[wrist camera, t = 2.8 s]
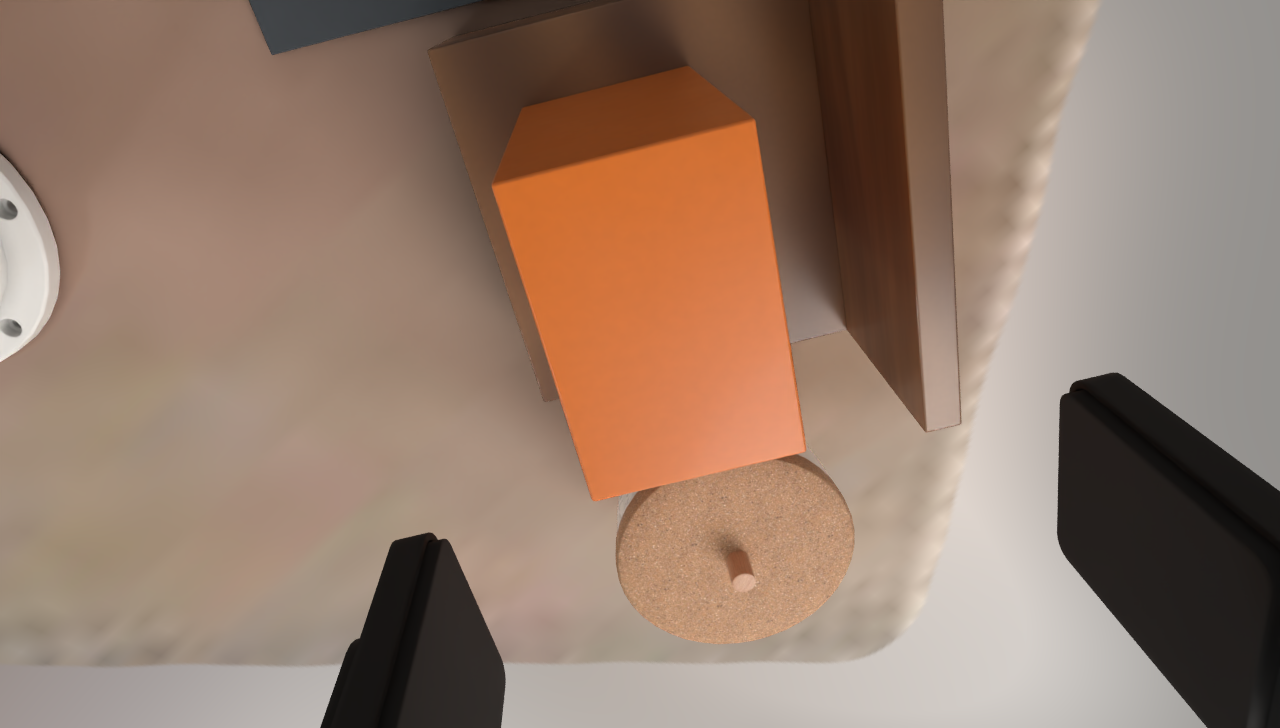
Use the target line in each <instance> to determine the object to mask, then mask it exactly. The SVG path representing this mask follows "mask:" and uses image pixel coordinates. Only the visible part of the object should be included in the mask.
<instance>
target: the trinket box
mask: <svg viewBox="0 0 1280 728" xmlns="http://www.w3.org/2000/svg"><path fill="white" fill-rule="evenodd" d="M853 548H854V526H853V521H852V516H851V513H850V511H849V509H848V506H847V504H846V502H845V500H844V497H843V496H842V494H841V492H840V491H839V489H838V488H837V487H836V485H835V484H834V482H833V481H832V479H831V478H830V476H829V475H828V473H827V471H826V470H825V468H824V466H823V465H822V464H821V462H820V461H819V459H818V458H817V456H816V455H815V454H814V453H813V451H812V450H811V449H810V448H809V446H808V445H807V444H806V451H805V452H803V453H799V454H795V455H791V456H786V457H782V458H778V459H774V460H769V461H765V462H761V463H756V464H752V465H748V466H744V467H739V468H735V469H731V470H727V471H722V472H718V473H714V474H709V475H705V476H701V477H697V478H692V479H688V480H684V481H680V482H675V483H671V484H667V485H662V486H658V487H654V488H650V489H645V490H641V491H637V492H633V493H628V494H624V495H620V496H619V501H618V509H617V537H616V566H617V572H618V577H619V581H620V583H621V586H622V588H623V591H624V593H625V595H626V596H627V598H628V599H629V601H630V603H631V604H632V606H633V607H634V608H635V609H636V610H637V611H638V612H639V613H640V614H641V615H642V616H643V617H644V618H646V619H647V620H648V621H650V622H651V623H652V624H654V625H655V626H657V627H659V628H660V629H662V630H664V631H666V632H668V633H670V634H673V635H676V636H678V637H681V638H684V639H687V640H692V641H698V642H704V643H714V644H728V643H740V642H747V641H754V640H757V639H761V638H764V637H768V636H771V635H774V634H776V633H779V632H782V631H784V630H787V629H788V628H790V627H792V626H794V625H796V624H797V623H799V622H801V621H802V620H804V619H805V618H807V617H808V616H810V615H811V614H813V613H814V612H815V611H816V610H817V609H818V608H820V607H821V606H822V605H823V604H824V603H825V602H826V601H827V600H828V599H829V597H830V596H831V595H832V594H833V593H834V592H835V590H836V589H837V588H838V586H839V584H840V583H841V581H842V579H843V577H844V576H845V574H846V572H847V569H848V567H849V564H850V561H851V559H852V554H853Z"/></svg>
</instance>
